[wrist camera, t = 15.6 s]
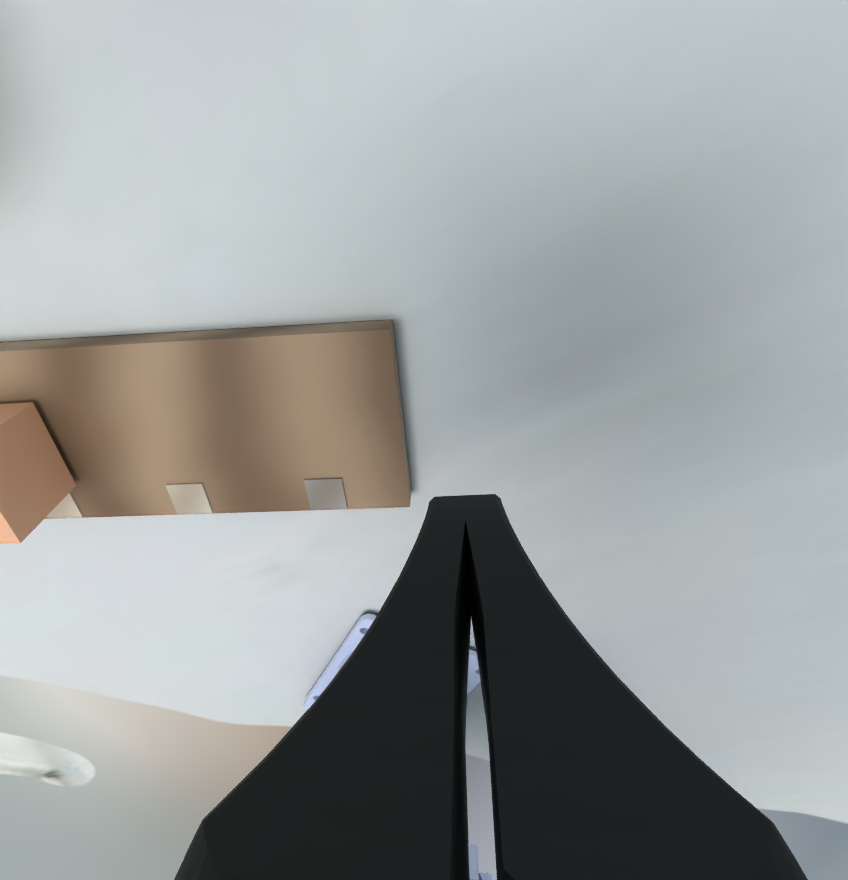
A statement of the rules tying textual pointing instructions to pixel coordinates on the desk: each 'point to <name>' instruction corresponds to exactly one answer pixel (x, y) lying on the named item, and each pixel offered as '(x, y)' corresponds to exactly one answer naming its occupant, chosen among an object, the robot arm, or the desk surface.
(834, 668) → the desk surface
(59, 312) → the desk surface
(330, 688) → the robot arm
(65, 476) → the peach colored cube
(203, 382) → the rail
